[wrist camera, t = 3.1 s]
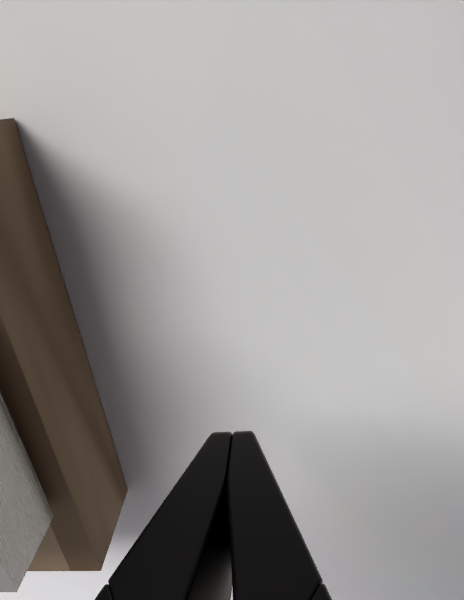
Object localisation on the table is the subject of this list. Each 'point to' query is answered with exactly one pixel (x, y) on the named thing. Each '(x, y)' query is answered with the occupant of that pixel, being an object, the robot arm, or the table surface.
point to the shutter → (18, 506)
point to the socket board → (51, 380)
